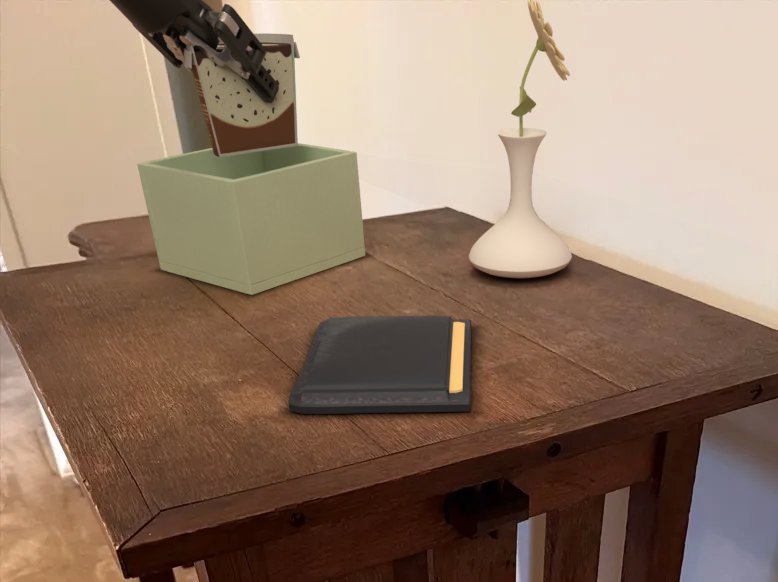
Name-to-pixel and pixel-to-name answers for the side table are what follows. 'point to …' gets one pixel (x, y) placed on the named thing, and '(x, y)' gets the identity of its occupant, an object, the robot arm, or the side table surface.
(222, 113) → the food container
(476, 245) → the flower in vase
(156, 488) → the side table surface
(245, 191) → the bin
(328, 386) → the wallet
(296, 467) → the side table surface
